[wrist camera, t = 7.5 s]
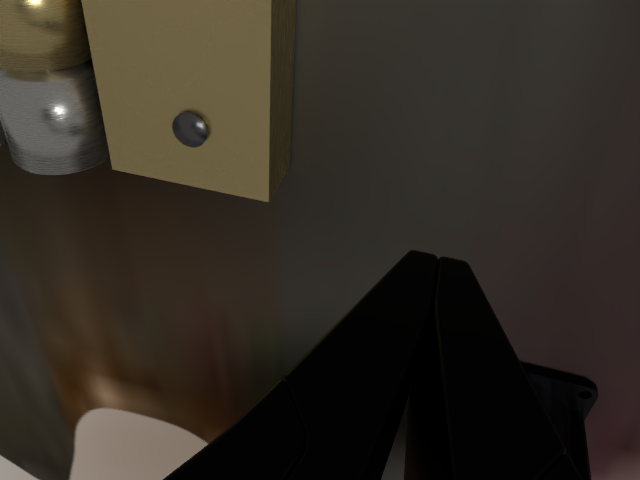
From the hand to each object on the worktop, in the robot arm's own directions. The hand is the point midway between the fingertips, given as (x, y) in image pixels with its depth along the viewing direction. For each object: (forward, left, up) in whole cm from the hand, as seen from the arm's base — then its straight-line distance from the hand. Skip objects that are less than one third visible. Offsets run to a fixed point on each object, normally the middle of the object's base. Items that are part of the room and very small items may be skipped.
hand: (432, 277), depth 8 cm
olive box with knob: (+11, 0, -11) cm, 15 cm away
